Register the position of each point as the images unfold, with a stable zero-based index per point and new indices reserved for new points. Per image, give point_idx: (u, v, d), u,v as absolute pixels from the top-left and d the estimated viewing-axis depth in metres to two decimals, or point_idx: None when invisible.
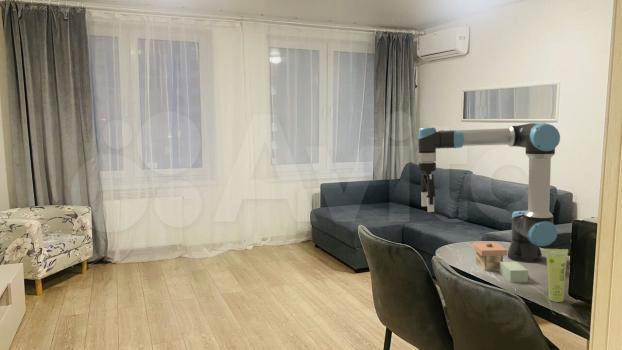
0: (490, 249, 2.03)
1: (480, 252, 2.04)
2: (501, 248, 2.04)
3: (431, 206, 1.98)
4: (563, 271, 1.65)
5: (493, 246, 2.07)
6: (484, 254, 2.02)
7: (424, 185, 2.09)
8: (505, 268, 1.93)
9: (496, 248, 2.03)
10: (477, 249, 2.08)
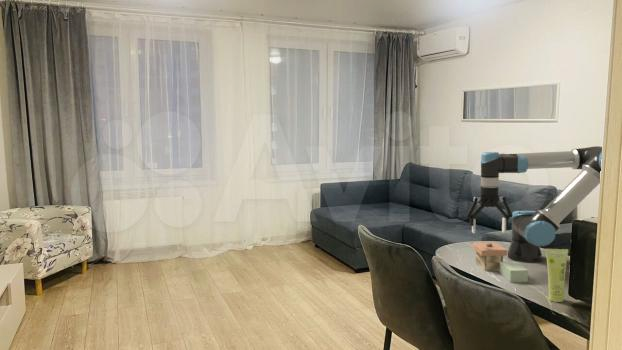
0: (490, 249, 2.03)
1: (480, 252, 2.04)
2: (501, 248, 2.04)
3: (473, 227, 2.07)
4: (563, 271, 1.65)
5: (493, 246, 2.07)
6: (484, 254, 2.02)
7: None
8: (505, 268, 1.93)
9: (496, 248, 2.03)
10: (477, 249, 2.08)
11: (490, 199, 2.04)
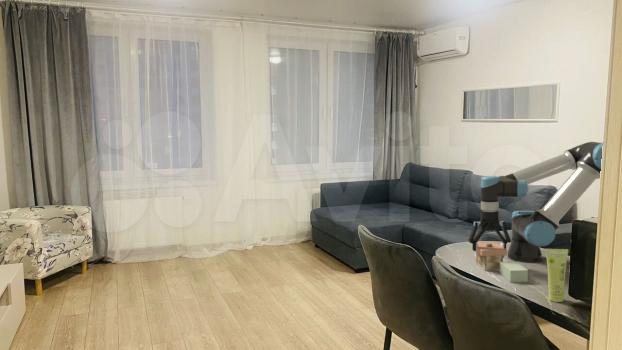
0: (490, 249, 2.03)
1: (480, 252, 2.04)
2: (501, 248, 2.04)
3: (475, 252, 2.08)
4: (563, 271, 1.65)
5: (493, 246, 2.07)
6: (484, 254, 2.02)
7: (497, 234, 2.08)
8: (505, 268, 1.93)
9: (496, 248, 2.03)
10: None
11: (490, 222, 2.06)
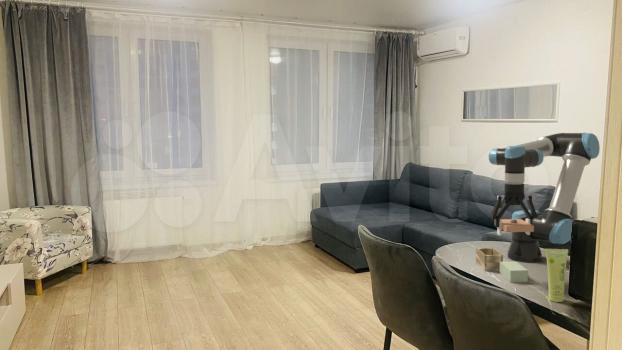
0: (515, 225, 1.86)
1: (504, 228, 1.87)
2: (527, 224, 1.87)
3: (498, 229, 1.92)
4: (563, 271, 1.65)
5: (518, 222, 1.91)
6: (509, 230, 1.85)
7: (522, 209, 1.91)
8: (505, 268, 1.93)
9: (522, 224, 1.87)
10: None
11: (515, 196, 1.89)
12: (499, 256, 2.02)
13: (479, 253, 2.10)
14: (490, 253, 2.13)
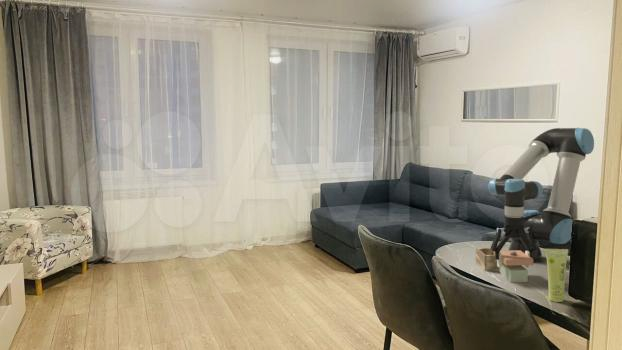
0: (515, 258, 1.88)
1: (504, 261, 1.88)
2: (527, 257, 1.89)
3: (498, 261, 1.93)
4: (563, 271, 1.65)
5: (517, 255, 1.92)
6: (508, 263, 1.87)
7: (522, 242, 1.92)
8: (505, 268, 1.93)
9: (522, 257, 1.88)
10: None
11: (515, 229, 1.90)
12: None
13: (479, 253, 2.10)
14: (490, 253, 2.13)
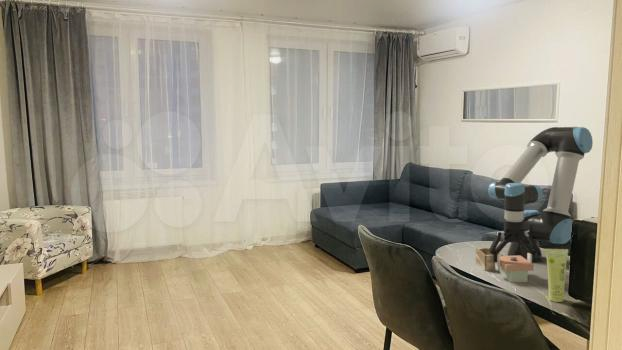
0: (515, 263, 1.88)
1: (504, 267, 1.89)
2: (527, 262, 1.89)
3: (496, 264, 1.93)
4: (563, 271, 1.65)
5: (518, 260, 1.93)
6: (509, 269, 1.87)
7: (523, 245, 1.93)
8: None
9: (522, 263, 1.89)
10: (500, 263, 1.93)
11: (515, 234, 1.91)
12: None
13: (479, 253, 2.10)
14: (490, 253, 2.13)
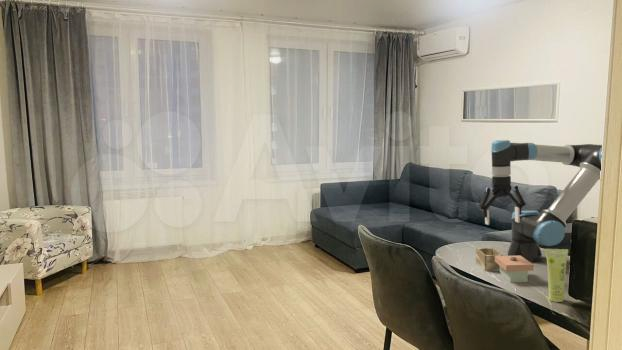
0: (515, 263, 1.88)
1: (504, 267, 1.89)
2: (527, 262, 1.89)
3: (486, 219, 2.01)
4: (563, 271, 1.65)
5: (518, 260, 1.93)
6: (509, 269, 1.87)
7: (511, 199, 2.01)
8: None
9: (522, 263, 1.89)
10: (500, 263, 1.93)
11: (503, 189, 1.99)
12: None
13: (479, 253, 2.10)
14: (490, 253, 2.13)
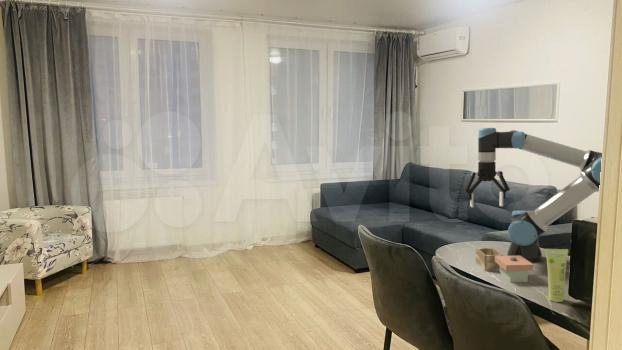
0: (515, 263, 1.88)
1: (504, 267, 1.89)
2: (527, 262, 1.89)
3: (471, 201, 2.13)
4: (563, 271, 1.65)
5: (518, 260, 1.93)
6: (509, 269, 1.87)
7: (496, 184, 2.12)
8: None
9: (522, 263, 1.89)
10: (500, 263, 1.93)
11: (487, 173, 2.10)
12: None
13: (479, 253, 2.10)
14: (490, 253, 2.13)
